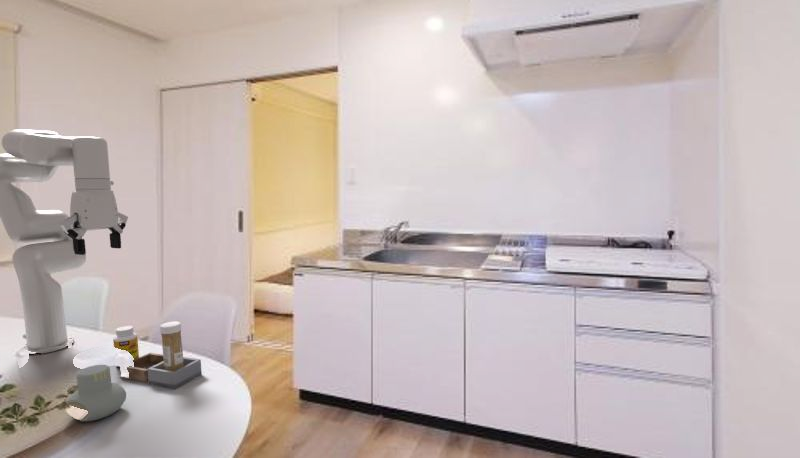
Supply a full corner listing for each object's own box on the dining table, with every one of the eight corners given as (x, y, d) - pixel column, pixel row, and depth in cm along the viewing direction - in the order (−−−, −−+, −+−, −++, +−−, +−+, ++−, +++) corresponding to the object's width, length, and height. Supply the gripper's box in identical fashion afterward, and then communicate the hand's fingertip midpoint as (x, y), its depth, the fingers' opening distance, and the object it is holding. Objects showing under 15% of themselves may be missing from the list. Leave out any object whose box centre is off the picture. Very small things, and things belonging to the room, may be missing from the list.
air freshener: (133, 408, 98) (129, 365, 96) (97, 429, 90) (92, 382, 89) (98, 400, 101) (94, 359, 100) (60, 419, 94) (55, 374, 92)
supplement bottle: (118, 370, 117) (114, 333, 116) (113, 364, 121) (110, 328, 120) (142, 364, 121) (138, 328, 120) (136, 358, 125) (133, 323, 124)
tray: (148, 384, 109) (147, 368, 108) (176, 370, 117) (175, 355, 116) (175, 389, 106) (174, 373, 106) (201, 374, 114) (200, 359, 114)
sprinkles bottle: (186, 376, 111) (182, 324, 109) (165, 381, 108) (161, 328, 107) (183, 369, 115) (179, 319, 113) (163, 374, 112) (159, 323, 110)
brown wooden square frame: (120, 377, 113) (119, 366, 113) (150, 363, 121) (150, 352, 121) (147, 382, 110) (146, 370, 110) (176, 367, 118) (175, 356, 118)
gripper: (113, 184, 124) (118, 245, 126) (47, 186, 107) (54, 256, 110) (134, 184, 121) (138, 246, 123) (68, 187, 105) (75, 258, 107)
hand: (98, 251), depth 117 cm, fingers open, 9 cm apart
